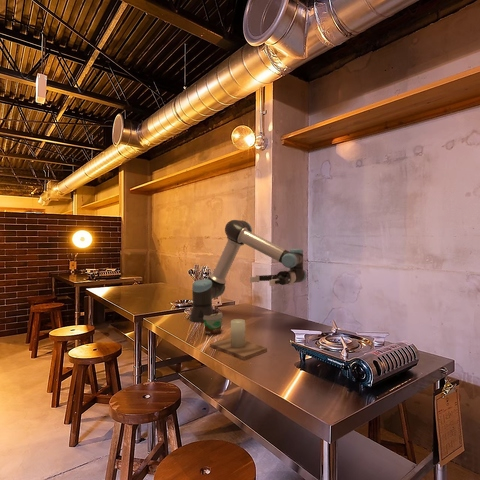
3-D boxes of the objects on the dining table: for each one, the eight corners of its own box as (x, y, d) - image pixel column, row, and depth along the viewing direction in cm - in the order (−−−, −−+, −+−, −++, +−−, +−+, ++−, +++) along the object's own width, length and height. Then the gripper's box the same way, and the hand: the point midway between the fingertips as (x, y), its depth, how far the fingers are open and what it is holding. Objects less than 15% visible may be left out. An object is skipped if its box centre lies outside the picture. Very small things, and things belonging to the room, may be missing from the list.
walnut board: (210, 346, 144) (210, 343, 144) (232, 339, 154) (232, 336, 154) (244, 360, 128) (244, 356, 128) (267, 351, 138) (266, 347, 138)
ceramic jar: (227, 345, 141) (227, 320, 141) (238, 342, 145) (238, 318, 145) (237, 349, 136) (237, 323, 136) (248, 345, 141) (248, 321, 140)
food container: (212, 337, 158) (212, 317, 157) (203, 335, 161) (203, 315, 161) (227, 331, 167) (227, 312, 167) (219, 329, 171) (218, 310, 171)
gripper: (304, 287, 166) (278, 291, 152) (268, 281, 184) (242, 285, 170) (304, 272, 166) (279, 276, 152) (268, 269, 184) (242, 271, 170)
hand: (259, 281), depth 161 cm, fingers open, 13 cm apart
